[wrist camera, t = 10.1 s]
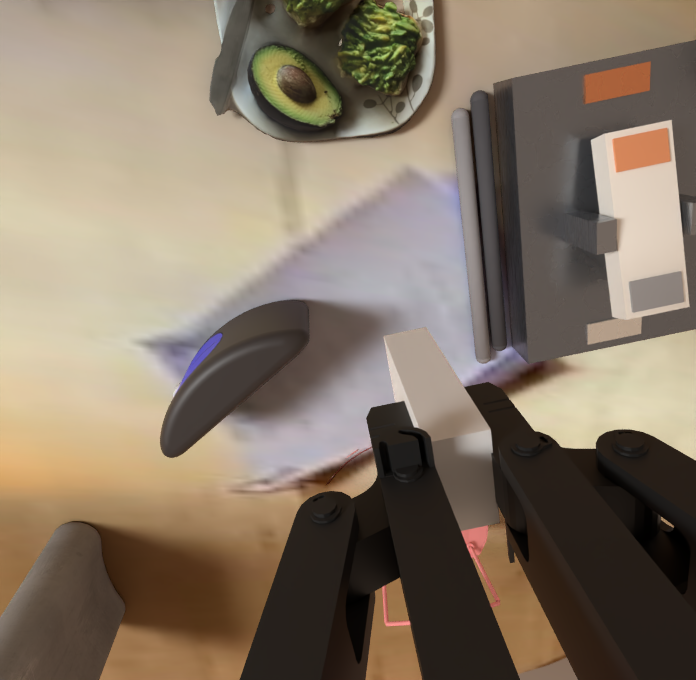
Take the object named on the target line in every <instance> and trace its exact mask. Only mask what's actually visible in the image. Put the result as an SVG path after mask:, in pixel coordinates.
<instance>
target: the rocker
mask: <svg viewBox="0 0 696 680" xmlns="http://www.w3.org/2000/svg"><path fill="white" fill-rule="evenodd" d="M591 146H592V154H593V163H594V171H595V179H596V187H597V196H598V204H599V212H600V215H603V216H607V217H611V218H615V219H617V250H616V251H614V252H609V253H605V261H606V270H607V278H608V286H609V294H610V303H611V311H612V317H614V318H619V319H624V320H629V319H633V318H638V317H643V316H648V315H653V314H657V313H662V312H667V311H672V310H677V309H681V308H686V307H690V306H689V296H688V286H687V275H686V265H685V254H684V244H683V234H682V223H681V213H680V203H679V192H678V182H677V171H676V161H675V151H674V140H673V130H672V120H668V121H663V122H658V123H654V124H649V125H644V126H639V127H634V128H629V129H625V130H620V131H615V132H610V133H605V134H603V135H601V136H599V137H596V138H594V139H592V140H591Z"/></svg>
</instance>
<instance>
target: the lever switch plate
mask: <svg viewBox="0 0 696 680" xmlns="http://www.w3.org/2000/svg"><path fill="white" fill-rule="evenodd" d="M493 85H494V99H495V113H496V127H497V141H498V155H499V169H500V183H501V197H502V211H503V224H504V238H505V252H506V266H507V280H508V294H509V308H510V322H511V336H512V347H513V348H514V349H515V350H516V351H517V352H518V353H519V354H520V355H521V357H522V358H523V359H524V360H525V361H526V362H527V363H528V364H530V363H535V362H540V361H544V360H549V359H554V358H559V357H564V356H569V355H573V354H578V353H583V352H588V351H593V350H597V349H602V348H607V347H612V346H617V345H621V344H626V343H631V342H636V341H641V340H645V339H650V338H655V337H660V336H665V335H669V334H674V333H679V332H684V331H689V330H693V329H696V40H694V41H689V42H684V43H680V44H675V45H670V46H665V47H660V48H656V49H651V50H646V51H641V52H636V53H632V54H627V55H622V56H617V57H612V58H607V59H603V60H598V61H593V62H588V63H583V64H579V65H574V66H569V67H564V68H559V69H555V70H550V71H545V72H540V73H535V74H530V75H526V76H521V77H516V78H511V79H508V80H504V81H501V82H497V83H493ZM668 120H672V130H673V140H674V151H675V161H676V171H677V182H678V192H679V203H680V213H681V223H682V234H683V244H684V254H685V265H686V275H687V286H688V296H689V306H690V307H686V308H681V309H677V310H672V311H667V312H662V313H657V314H653V315H648V316H643V317H638V318H633V319H629V320H624V319H619V318H614V317H612V311H611V303H610V294H609V286H608V278H607V270H606V261H605V253H609V252H614V251H616V250H617V219H615V218H611V217H607V216H603V215H600V212H599V204H598V196H597V187H596V179H595V171H594V163H593V154H592V146H591V140H592V139H594V138H596V137H599V136H601V135H603V134H605V133H610V132H615V131H620V130H625V129H629V128H634V127H639V126H644V125H649V124H654V123H658V122H663V121H668Z"/></svg>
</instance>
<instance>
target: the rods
mask: <svg viewBox="0 0 696 680" xmlns="http://www.w3.org/2000/svg"><path fill="white" fill-rule="evenodd" d="M470 102H471V114H472V125H473V136H474V147H475V159H476V170H477V181H478V193H479V204H480V215H481V226H482V238H483V249H484V260H485V271H486V283H487V294H488V305H489V317H490V328H491V339H492V346H493V348H494V349H495V350H497V351H502V350H504V349H505V348H506V346H507V339H506V326H505V313H504V300H503V287H502V273H501V260H500V247H499V234H498V221H497V208H496V195H495V182H494V169H493V155H492V142H491V129H490V116H489V103H488V95H487V94H486V92H484V91H482V90H479V91H476V92H474V93H473V95H472V96H471V100H470ZM451 120H452V129H453V139H454V149H455V158H456V168H457V178H458V188H459V197H460V207H461V217H462V226H463V236H464V246H465V255H466V265H467V275H468V285H469V294H470V304H471V314H472V323H473V333H474V343H475V353H476V359H477V361H478V362H479V363H482V364H484V363H487V362H488V361H489V360H490V358H491V355H490V344H489V333H488V322H487V311H486V300H485V289H484V278H483V267H482V256H481V245H480V234H479V223H478V212H477V201H476V189H475V178H474V167H473V156H472V145H471V134H470V123H469V114H468V112H467V110H465V109H464V108H458V109H456V110H455V111H454V112H453V114H452V117H451Z"/></svg>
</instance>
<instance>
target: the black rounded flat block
mask: <svg viewBox="0 0 696 680" xmlns="http://www.w3.org/2000/svg"><path fill="white" fill-rule="evenodd" d="M308 342H309V309H308V307H307V305H306V304H305V303H303V302H300V301H294V300H285V301H277V302H272V303H268V304H265V305H262V306H259V307H256V308H253V309H251V310H249V311H247V312H244V313H243V314H241V315H239V316H237V317H235V318H234V319H232V320H231V321H229V322H228V323H226V324H225V325H224V326H222V327H221V328H220V329H219V330H217V331H216V332H215V333H214V334H213V335H212V336H211V337H210V338H209V339H208V340H207V341H206V342H205V344H204V345H203V346H202V347H201V348H200V350H199V351H198V352H197V354H196V355H195V357H194V359H193V360H192V362H191V364H190V366H189V368H188V370H187V372H186V374H185V376H184V378H183V380H182V382H181V383H179V385H177V386H176V388H175V390H174V392H173V400H172V401H171V404H170V406H169V408H168V410H167V412H166V415H165V418H164V421H163V425H162V429H161V436H160V445H161V450H162V452H163V454H164V455H165V456H167V457H170V458H174V457H177V456H180V455H181V454H183V453H184V452H186V451H187V450H188V449H189V448H190V447H191V446H193V445H194V444H195V443H196V442H197V441H198V440H200V439H201V438H202V437H203V436H204V435H205V434H207V433H208V432H209V431H210V430H211V429H212V428H214V427H215V426H216V425H217V424H218V423H219V422H221V421H222V420H223V419H224V418H225V417H226V416H227V415H229V414H230V413H231V412H232V411H233V410H234V409H236V408H237V407H238V406H239V405H240V404H241V403H243V402H244V401H245V400H246V399H247V398H248V397H250V396H251V395H252V394H253V393H254V392H255V391H257V390H258V389H259V388H260V387H261V386H262V385H264V384H265V383H266V382H267V381H268V380H269V379H270V378H272V377H273V376H274V375H275V374H276V373H277V372H279V371H280V370H281V369H282V368H283V367H284V366H286V365H287V364H288V363H289V362H290V361H291V360H293V359H294V358H295V357H296V356H297V355H298V354H299V353H300V352H301V351H302V350H303V349H304V348H305V346H306V345H307V344H308Z"/></svg>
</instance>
